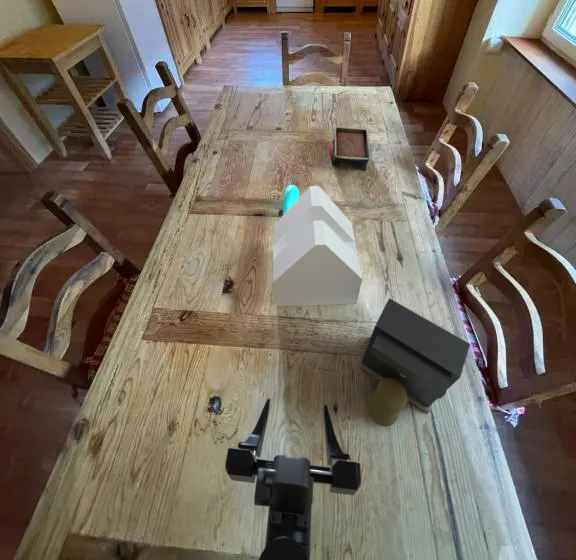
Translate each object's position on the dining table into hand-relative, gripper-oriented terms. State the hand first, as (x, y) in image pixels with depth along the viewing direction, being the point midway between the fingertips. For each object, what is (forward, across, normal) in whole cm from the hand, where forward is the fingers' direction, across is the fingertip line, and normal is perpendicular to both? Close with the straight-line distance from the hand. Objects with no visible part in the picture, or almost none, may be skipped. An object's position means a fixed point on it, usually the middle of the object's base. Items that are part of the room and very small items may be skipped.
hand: (296, 402), depth 55 cm
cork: (+5, -16, +14) cm, 22 cm away
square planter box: (+78, -12, +9) cm, 80 cm away
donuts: (+52, +2, +11) cm, 53 cm away
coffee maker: (+10, -19, +14) cm, 26 cm away
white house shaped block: (+32, -2, +12) cm, 34 cm away
